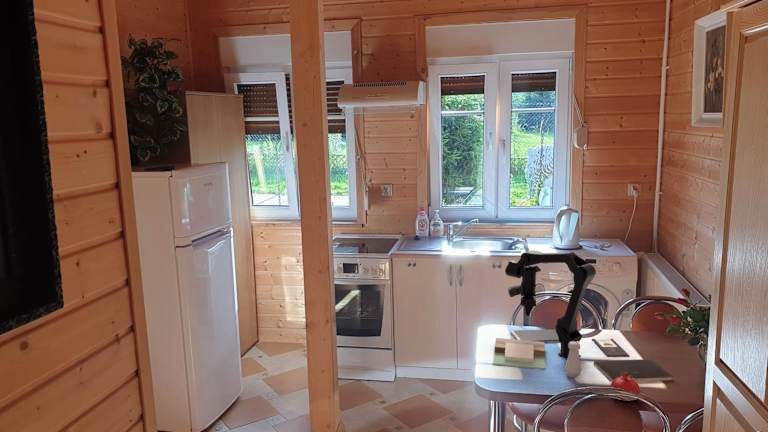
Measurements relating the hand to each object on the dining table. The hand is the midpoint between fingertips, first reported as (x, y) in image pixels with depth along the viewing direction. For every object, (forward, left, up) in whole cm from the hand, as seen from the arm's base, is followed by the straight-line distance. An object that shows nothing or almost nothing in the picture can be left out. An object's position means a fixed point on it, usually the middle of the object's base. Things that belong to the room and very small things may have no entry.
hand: (527, 315), depth 253 cm
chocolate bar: (-23, -25, -13) cm, 36 cm away
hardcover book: (-43, -12, -13) cm, 47 cm away
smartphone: (0, -11, -13) cm, 17 cm away
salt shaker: (-33, +9, -12) cm, 36 cm away
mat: (-12, +17, -12) cm, 24 cm away
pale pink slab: (-11, +15, -10) cm, 21 cm away
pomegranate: (-55, +8, -12) cm, 57 cm away
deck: (-5, +10, -12) cm, 16 cm away
